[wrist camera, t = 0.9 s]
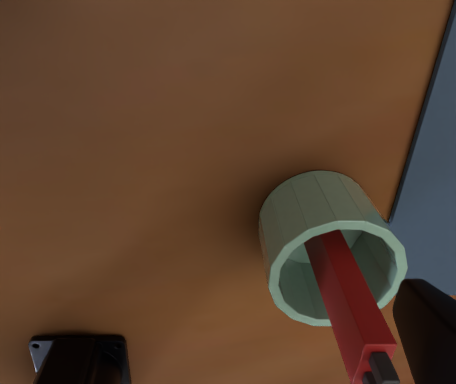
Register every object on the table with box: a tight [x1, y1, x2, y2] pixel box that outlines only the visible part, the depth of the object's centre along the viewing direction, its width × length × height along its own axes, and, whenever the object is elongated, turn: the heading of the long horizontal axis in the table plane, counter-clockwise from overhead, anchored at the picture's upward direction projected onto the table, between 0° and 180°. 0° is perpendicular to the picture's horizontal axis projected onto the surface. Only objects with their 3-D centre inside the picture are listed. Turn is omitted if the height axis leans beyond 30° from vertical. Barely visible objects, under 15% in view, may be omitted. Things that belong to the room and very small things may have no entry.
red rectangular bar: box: [304, 229, 400, 384], centre depth 18 cm, size 2×1×10 cm, turn 177°
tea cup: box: [258, 171, 408, 326], centre depth 21 cm, size 7×7×5 cm
